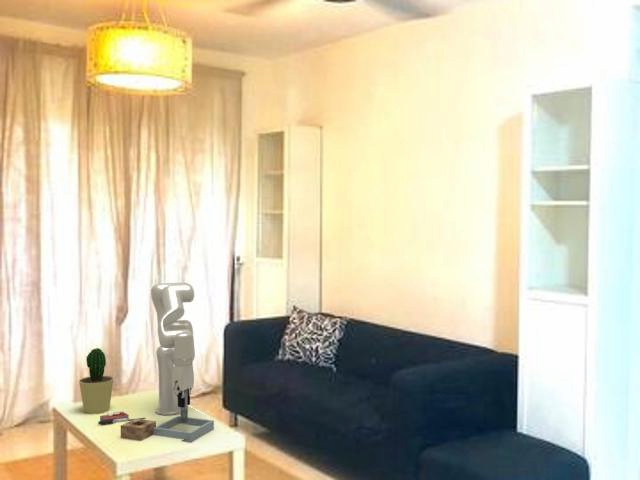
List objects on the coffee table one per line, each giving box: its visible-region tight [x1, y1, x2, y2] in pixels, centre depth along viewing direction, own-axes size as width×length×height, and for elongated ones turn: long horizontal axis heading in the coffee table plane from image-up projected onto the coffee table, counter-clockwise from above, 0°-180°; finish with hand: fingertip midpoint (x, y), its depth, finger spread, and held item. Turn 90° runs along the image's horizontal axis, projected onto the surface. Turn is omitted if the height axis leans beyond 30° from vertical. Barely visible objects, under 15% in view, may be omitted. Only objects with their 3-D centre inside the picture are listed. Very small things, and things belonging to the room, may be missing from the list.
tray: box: [152, 415, 215, 443], centre depth 276 cm, size 18×18×4 cm
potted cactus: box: [78, 347, 114, 415], centre depth 309 cm, size 15×15×30 cm
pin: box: [179, 386, 189, 422], centre depth 276 cm, size 5×5×15 cm
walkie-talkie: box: [98, 410, 147, 426], centre depth 292 cm, size 9×4×20 cm
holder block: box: [120, 418, 157, 442], centre depth 270 cm, size 10×10×6 cm
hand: (183, 405), depth 276 cm, fingers closed on pin, 3 cm apart
